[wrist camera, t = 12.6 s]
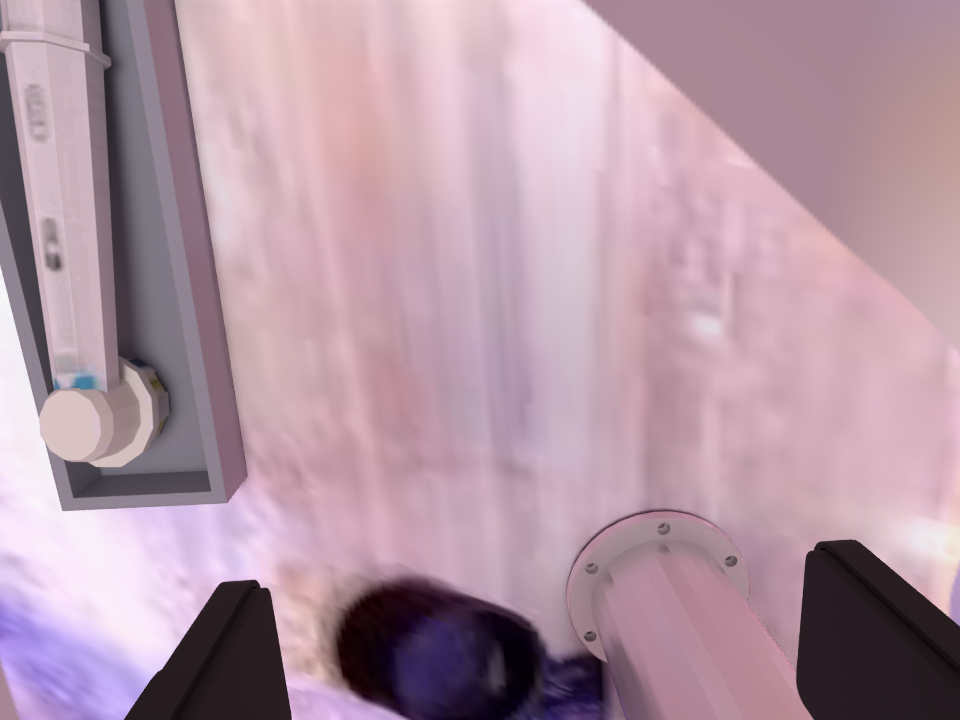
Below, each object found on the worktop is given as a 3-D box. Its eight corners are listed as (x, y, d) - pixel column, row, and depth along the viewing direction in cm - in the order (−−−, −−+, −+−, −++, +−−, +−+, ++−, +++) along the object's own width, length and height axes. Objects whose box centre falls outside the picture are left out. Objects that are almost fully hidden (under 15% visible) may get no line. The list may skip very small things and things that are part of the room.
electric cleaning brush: (75, -47, 26) (115, 491, 30) (152, 19, 33) (177, 453, 36) (-46, -50, 26) (7, 492, 29) (55, 16, 33) (90, 453, 36)
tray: (247, 476, 38) (226, 503, 35) (97, 483, 38) (62, 511, 35) (166, -47, 30) (130, -77, 27) (-24, -42, 30) (-85, -72, 27)
